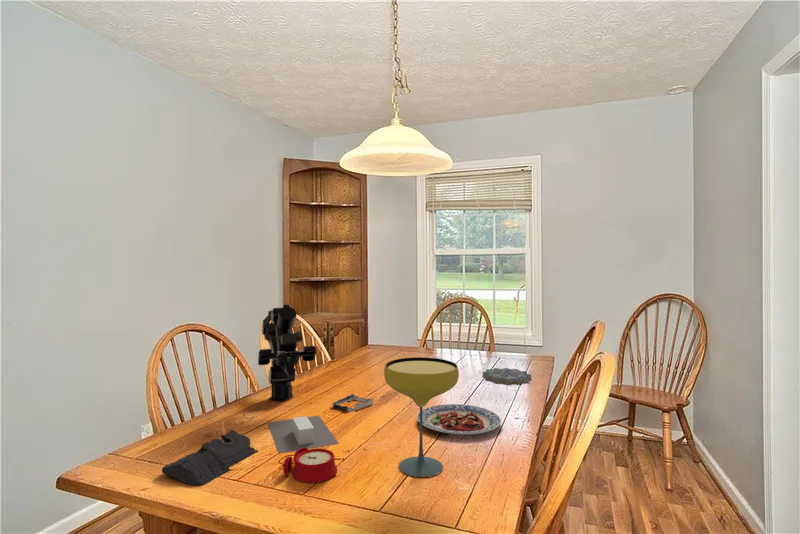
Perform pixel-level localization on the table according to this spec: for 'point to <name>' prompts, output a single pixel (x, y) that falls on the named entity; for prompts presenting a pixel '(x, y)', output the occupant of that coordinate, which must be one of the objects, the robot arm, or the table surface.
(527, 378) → the decorative tile
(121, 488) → the table surface
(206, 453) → the dark slate chunk
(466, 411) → the ceramic plate
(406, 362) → the cocktail glass
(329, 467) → the alarm clock
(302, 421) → the painted block
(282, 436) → the rubber mat
